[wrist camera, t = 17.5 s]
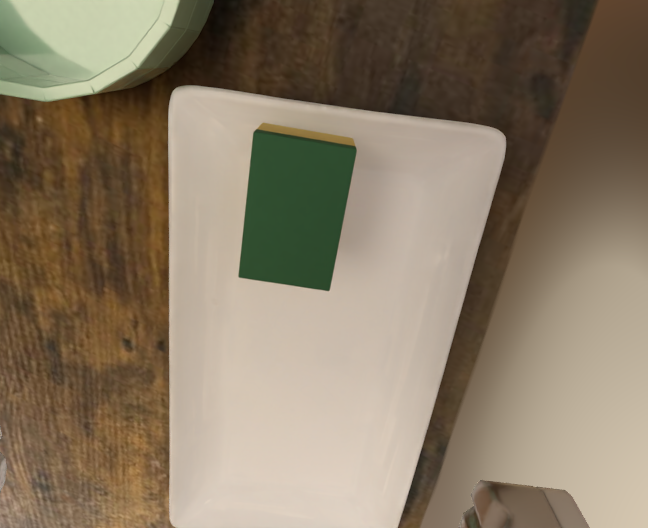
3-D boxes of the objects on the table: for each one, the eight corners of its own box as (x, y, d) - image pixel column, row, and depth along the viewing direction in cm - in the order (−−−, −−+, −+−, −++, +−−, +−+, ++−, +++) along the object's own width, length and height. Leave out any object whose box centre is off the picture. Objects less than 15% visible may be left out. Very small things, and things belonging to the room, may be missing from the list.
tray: (178, 495, 38) (165, 535, 35) (185, 77, 25) (164, 80, 22) (386, 515, 39) (391, 556, 36) (492, 121, 26) (515, 130, 23)
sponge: (261, 122, 23) (252, 131, 20) (353, 137, 23) (357, 149, 20) (247, 254, 26) (237, 278, 23) (329, 266, 26) (329, 292, 23)
